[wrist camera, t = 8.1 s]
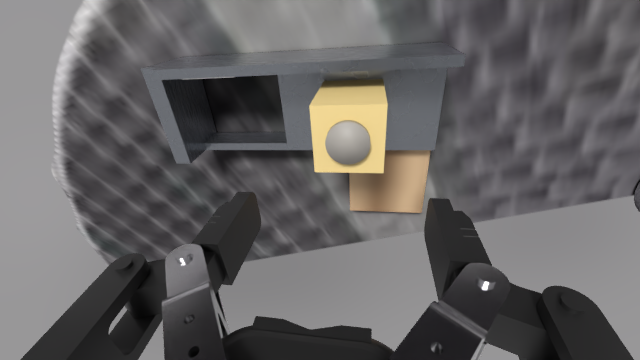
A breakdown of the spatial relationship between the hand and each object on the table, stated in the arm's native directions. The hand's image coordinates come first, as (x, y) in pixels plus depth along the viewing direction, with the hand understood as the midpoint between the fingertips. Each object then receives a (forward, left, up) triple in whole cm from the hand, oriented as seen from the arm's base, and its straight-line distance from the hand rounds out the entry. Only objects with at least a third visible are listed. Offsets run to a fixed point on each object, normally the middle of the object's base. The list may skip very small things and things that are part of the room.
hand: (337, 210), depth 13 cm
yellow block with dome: (0, 0, -15) cm, 15 cm away
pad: (-3, +8, -18) cm, 20 cm away
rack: (+5, 0, -18) cm, 18 cm away
